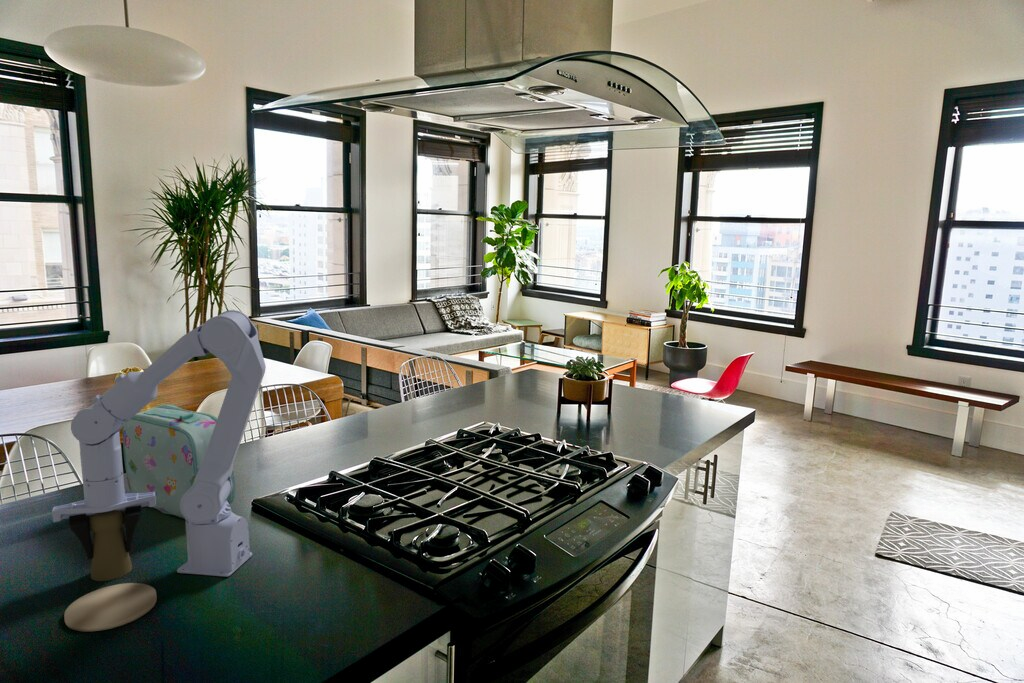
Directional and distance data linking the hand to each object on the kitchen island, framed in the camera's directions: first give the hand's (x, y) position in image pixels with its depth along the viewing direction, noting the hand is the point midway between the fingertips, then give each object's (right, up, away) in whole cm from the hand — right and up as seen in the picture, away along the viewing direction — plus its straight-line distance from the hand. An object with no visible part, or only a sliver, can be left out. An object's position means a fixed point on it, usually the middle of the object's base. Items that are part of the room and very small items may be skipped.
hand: (110, 552), depth 111 cm
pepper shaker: (0, -4, +1) cm, 4 cm away
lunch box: (-1, +1, +28) cm, 28 cm away
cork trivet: (+7, -5, -10) cm, 13 cm away
